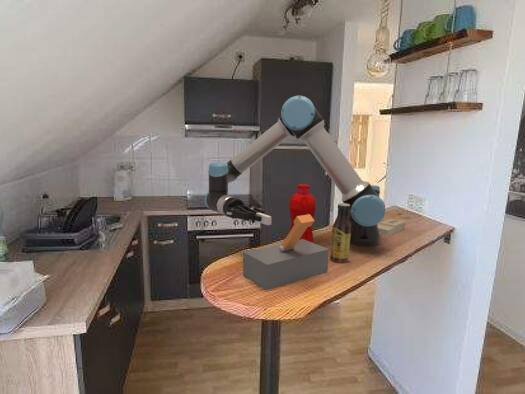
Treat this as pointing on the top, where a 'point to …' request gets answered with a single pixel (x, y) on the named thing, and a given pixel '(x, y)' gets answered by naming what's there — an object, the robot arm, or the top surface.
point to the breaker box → (284, 264)
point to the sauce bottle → (341, 234)
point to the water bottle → (302, 208)
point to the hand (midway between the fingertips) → (269, 220)
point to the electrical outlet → (390, 227)
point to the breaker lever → (296, 232)
